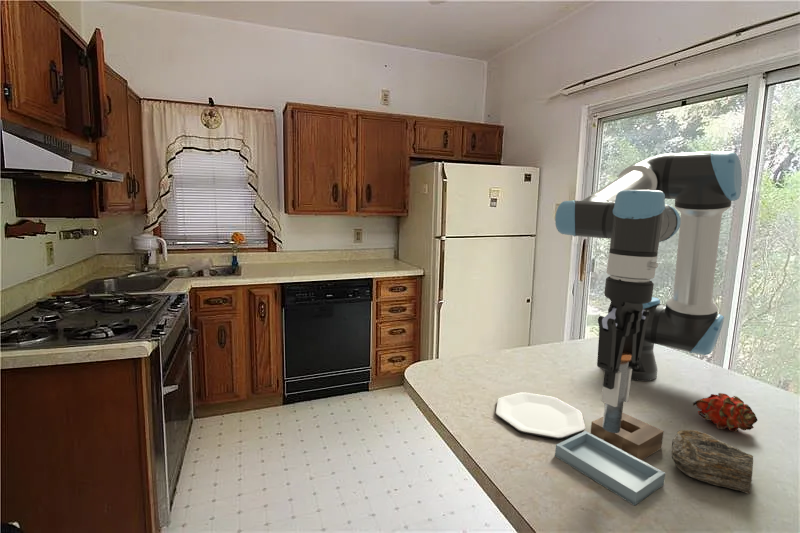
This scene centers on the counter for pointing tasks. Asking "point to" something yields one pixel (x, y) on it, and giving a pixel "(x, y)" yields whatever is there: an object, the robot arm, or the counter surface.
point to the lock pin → (615, 413)
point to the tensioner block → (631, 436)
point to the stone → (712, 460)
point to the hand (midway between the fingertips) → (614, 401)
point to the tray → (610, 466)
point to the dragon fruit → (727, 412)
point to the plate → (540, 415)
